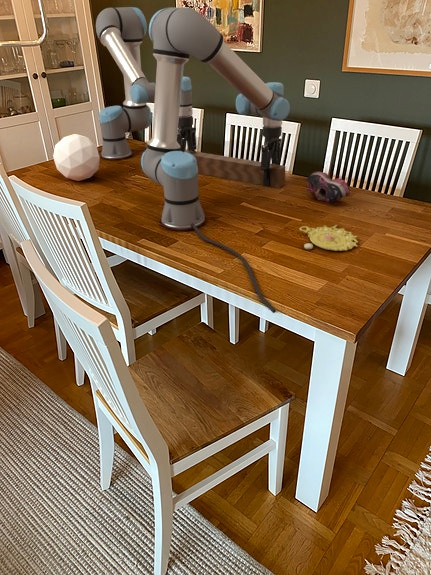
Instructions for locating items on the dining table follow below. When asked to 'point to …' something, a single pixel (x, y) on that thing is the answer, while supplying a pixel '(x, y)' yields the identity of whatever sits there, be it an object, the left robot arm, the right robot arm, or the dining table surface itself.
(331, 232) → the decorative object
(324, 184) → the athletic shoe
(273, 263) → the dining table surface
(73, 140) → the sphere
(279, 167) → the beam
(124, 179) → the dining table surface
